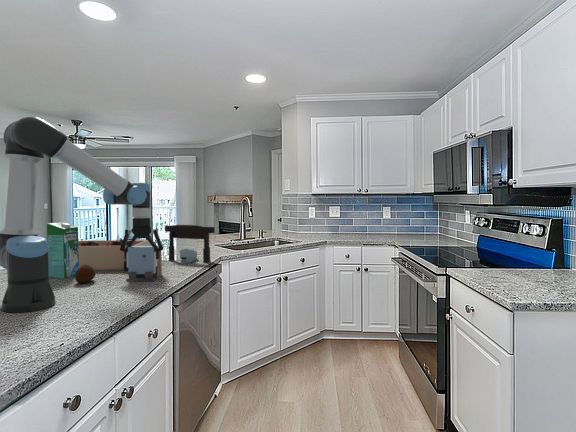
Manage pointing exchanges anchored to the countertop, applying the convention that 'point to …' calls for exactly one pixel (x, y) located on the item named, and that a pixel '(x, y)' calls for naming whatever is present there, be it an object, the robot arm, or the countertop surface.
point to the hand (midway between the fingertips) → (142, 266)
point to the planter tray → (104, 254)
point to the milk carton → (62, 249)
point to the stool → (189, 233)
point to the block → (141, 259)
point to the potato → (84, 274)
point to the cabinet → (147, 273)
